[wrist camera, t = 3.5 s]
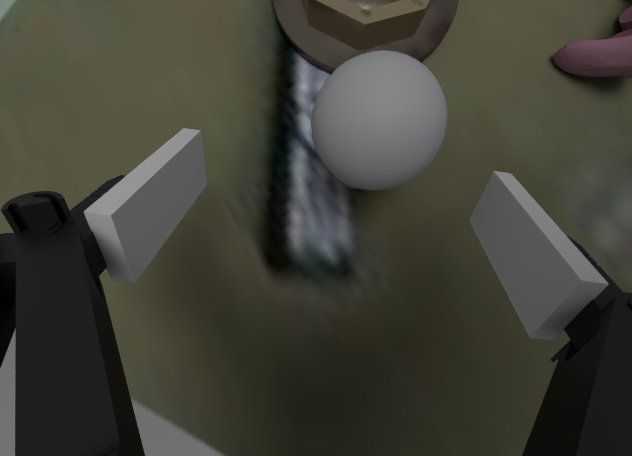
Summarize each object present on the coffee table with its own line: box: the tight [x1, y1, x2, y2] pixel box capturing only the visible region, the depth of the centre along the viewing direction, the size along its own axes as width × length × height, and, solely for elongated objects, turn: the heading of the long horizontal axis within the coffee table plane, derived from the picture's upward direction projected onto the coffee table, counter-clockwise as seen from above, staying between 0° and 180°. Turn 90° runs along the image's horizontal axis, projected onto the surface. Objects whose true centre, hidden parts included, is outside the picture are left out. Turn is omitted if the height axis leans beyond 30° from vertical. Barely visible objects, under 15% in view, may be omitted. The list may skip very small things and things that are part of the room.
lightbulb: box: [311, 50, 447, 191], centre depth 17 cm, size 6×6×11 cm
